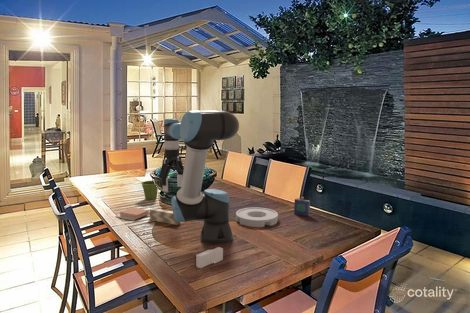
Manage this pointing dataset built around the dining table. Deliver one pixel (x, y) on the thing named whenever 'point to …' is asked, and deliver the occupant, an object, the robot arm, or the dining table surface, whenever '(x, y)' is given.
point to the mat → (127, 217)
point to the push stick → (163, 216)
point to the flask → (302, 207)
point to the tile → (134, 213)
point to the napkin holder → (209, 257)
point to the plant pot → (149, 190)
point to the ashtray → (256, 217)
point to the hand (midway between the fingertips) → (172, 189)
